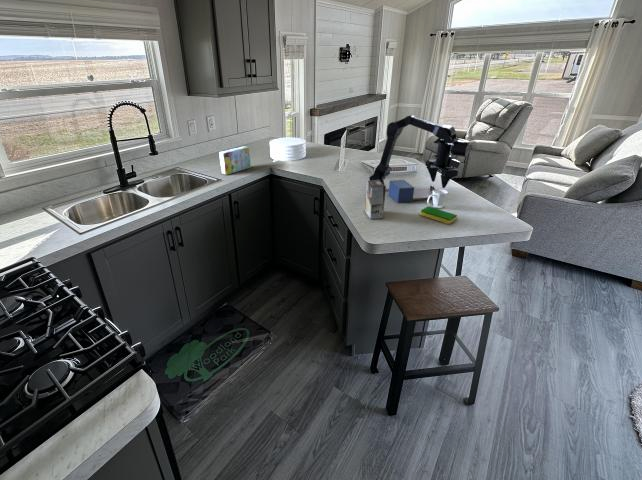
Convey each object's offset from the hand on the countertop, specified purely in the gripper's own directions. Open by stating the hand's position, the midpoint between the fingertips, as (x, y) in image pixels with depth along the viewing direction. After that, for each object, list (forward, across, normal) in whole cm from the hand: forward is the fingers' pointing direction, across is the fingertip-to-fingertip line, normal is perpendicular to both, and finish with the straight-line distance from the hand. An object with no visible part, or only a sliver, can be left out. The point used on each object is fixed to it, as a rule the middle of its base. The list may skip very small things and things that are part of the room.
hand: (438, 184), depth 160 cm
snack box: (+11, +80, +100) cm, 129 cm away
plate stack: (+11, +110, +60) cm, 126 cm away
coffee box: (+11, -4, +34) cm, 36 cm away
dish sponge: (+12, -12, +6) cm, 18 cm away
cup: (+12, -1, +1) cm, 12 cm away
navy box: (+11, +13, +4) cm, 17 cm away
